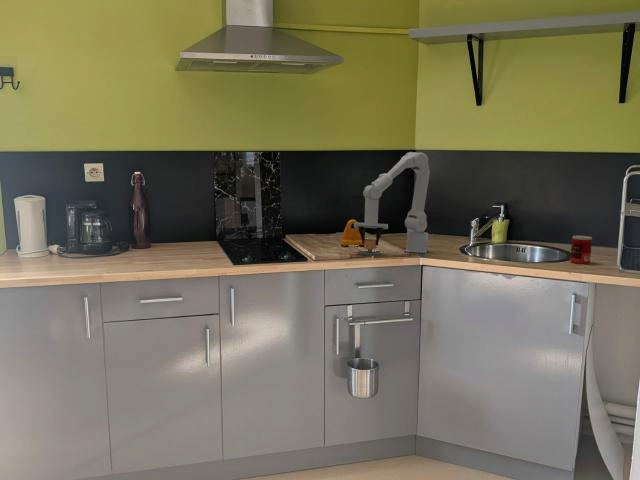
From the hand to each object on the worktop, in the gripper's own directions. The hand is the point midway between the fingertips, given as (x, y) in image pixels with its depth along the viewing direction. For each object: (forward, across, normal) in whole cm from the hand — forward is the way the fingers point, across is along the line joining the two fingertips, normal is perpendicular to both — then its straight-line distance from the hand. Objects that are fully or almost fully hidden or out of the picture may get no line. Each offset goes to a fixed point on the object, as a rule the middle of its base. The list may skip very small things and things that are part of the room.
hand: (370, 244), depth 267 cm
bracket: (+4, -11, +18) cm, 22 cm away
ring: (+2, 0, 0) cm, 2 cm away
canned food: (+4, +87, +10) cm, 88 cm away
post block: (+4, 0, 0) cm, 4 cm away
